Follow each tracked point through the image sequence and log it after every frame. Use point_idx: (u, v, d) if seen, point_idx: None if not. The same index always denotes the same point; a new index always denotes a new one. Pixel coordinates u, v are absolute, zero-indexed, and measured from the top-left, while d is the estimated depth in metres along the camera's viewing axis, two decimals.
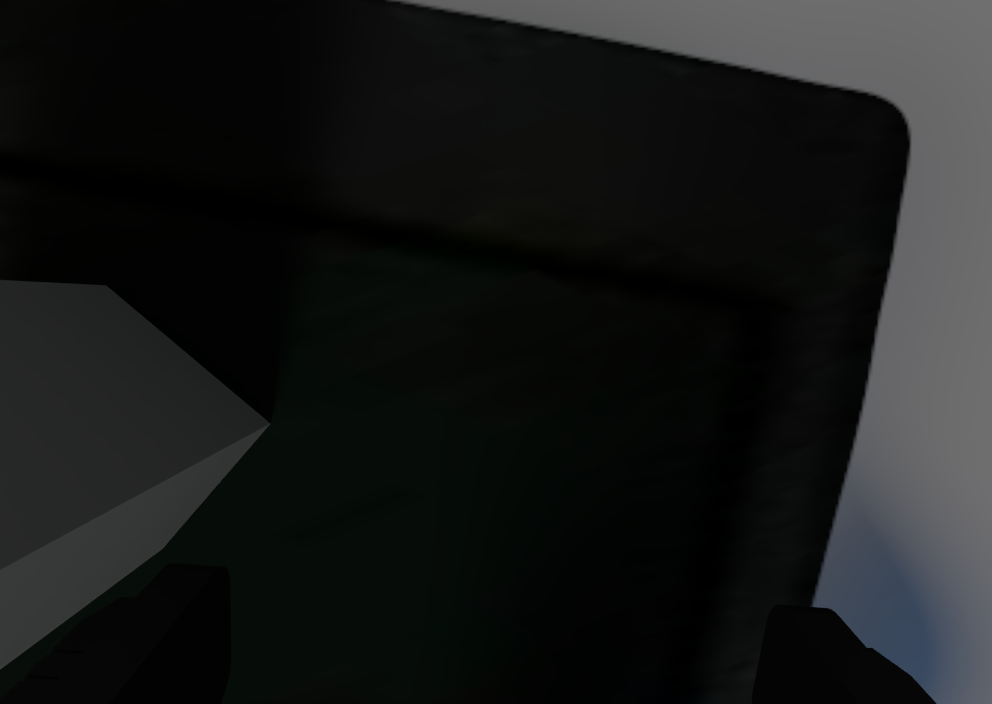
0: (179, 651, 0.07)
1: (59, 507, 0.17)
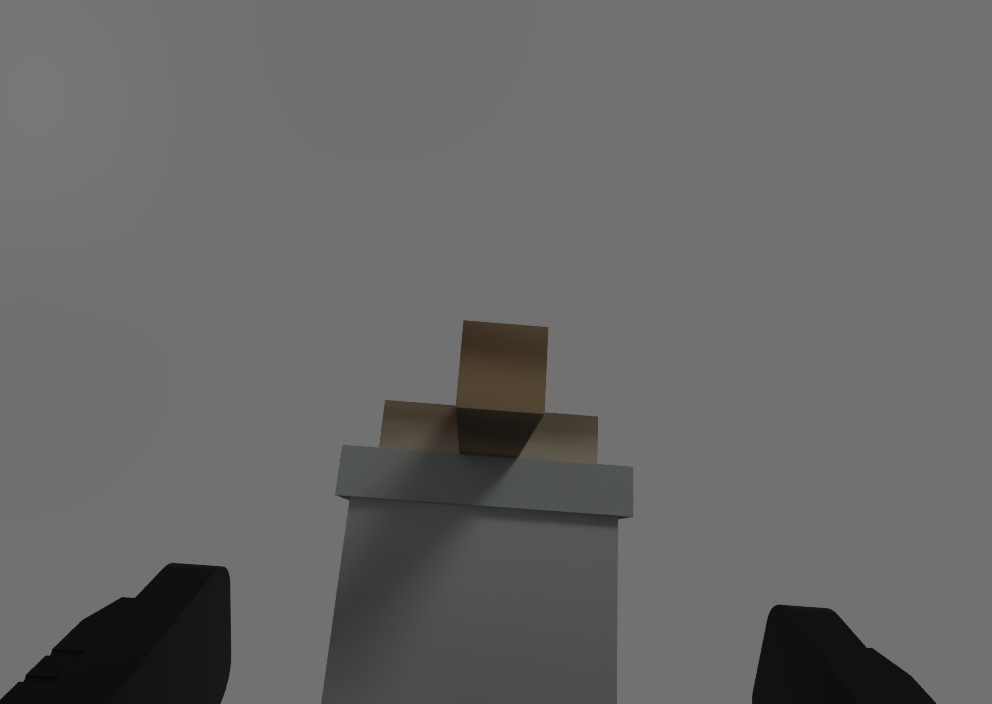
0: (179, 651, 0.07)
1: None
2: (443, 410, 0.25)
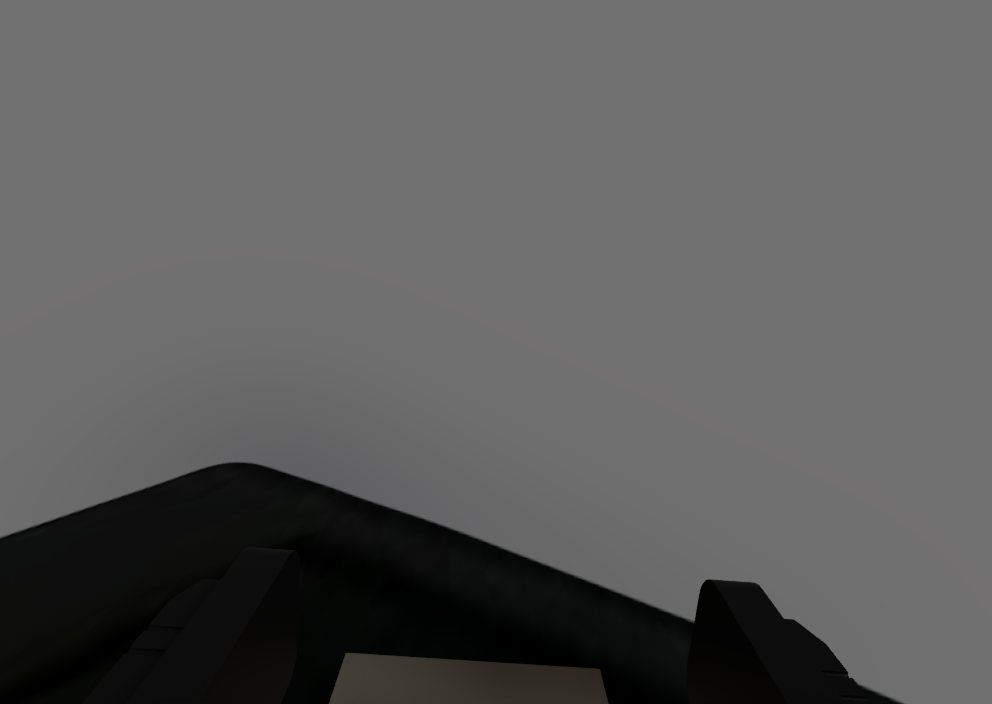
0: (264, 627, 0.08)
1: None
2: None
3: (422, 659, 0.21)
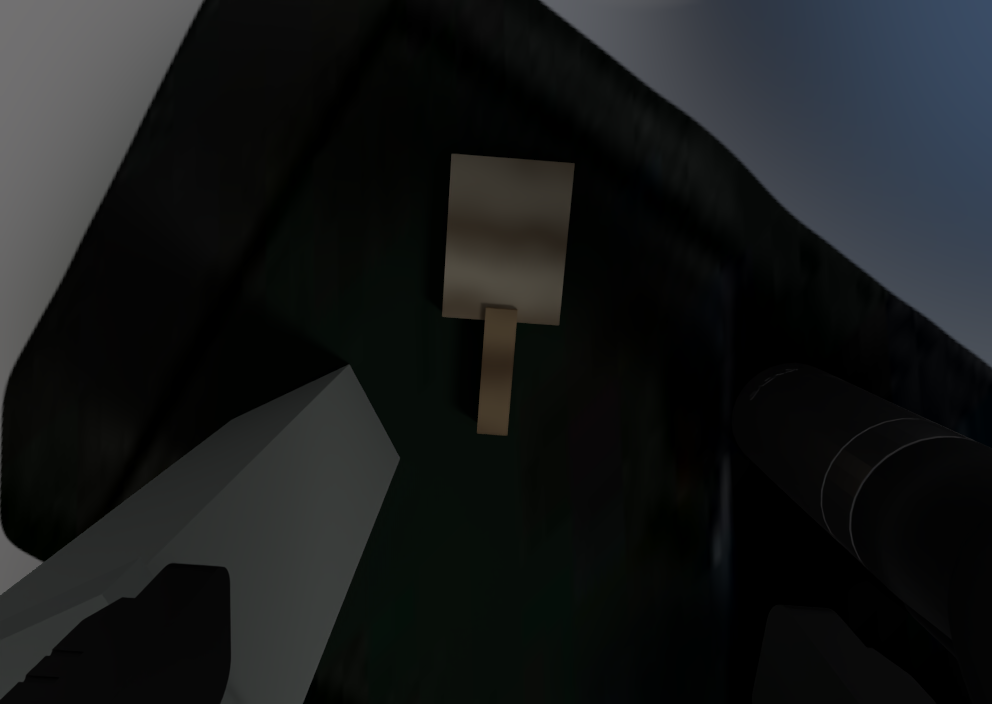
0: (179, 651, 0.07)
1: (276, 429, 0.35)
2: (474, 318, 0.47)
3: (488, 157, 0.44)
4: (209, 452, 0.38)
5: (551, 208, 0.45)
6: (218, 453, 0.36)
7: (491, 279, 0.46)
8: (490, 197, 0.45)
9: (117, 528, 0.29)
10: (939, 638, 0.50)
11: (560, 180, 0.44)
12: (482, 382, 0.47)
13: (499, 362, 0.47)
